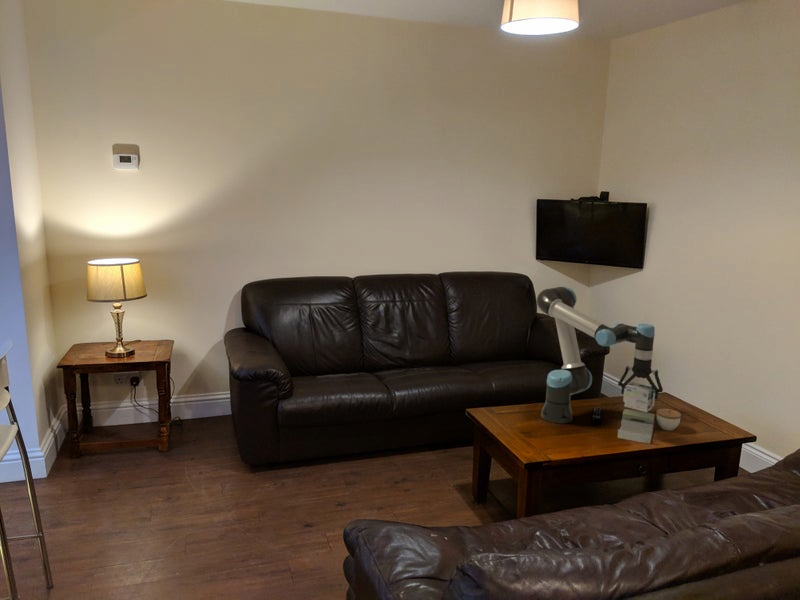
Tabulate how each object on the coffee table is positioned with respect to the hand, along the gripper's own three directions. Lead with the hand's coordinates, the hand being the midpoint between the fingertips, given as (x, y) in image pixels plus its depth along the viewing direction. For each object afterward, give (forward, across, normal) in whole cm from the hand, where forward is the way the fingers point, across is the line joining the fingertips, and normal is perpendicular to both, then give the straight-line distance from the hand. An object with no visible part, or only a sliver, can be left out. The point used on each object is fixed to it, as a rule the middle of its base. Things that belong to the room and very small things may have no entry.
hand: (638, 403), depth 277 cm
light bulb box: (+3, 0, 0) cm, 3 cm away
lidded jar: (+16, +13, +16) cm, 26 cm away
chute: (+16, 0, 0) cm, 16 cm away
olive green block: (+16, 0, +12) cm, 20 cm away
